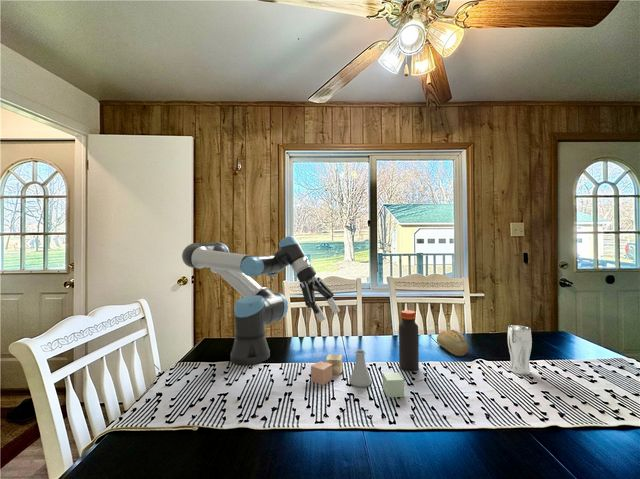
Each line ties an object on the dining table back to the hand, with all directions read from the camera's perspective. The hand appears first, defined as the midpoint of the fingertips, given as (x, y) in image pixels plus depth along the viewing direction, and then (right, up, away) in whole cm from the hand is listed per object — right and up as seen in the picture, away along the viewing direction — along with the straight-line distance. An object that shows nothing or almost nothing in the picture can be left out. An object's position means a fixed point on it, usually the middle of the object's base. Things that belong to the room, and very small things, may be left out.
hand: (330, 316), depth 117 cm
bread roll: (+50, -16, +6) cm, 53 cm away
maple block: (+1, -16, -12) cm, 20 cm away
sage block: (+18, -16, -27) cm, 36 cm away
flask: (+9, -16, -20) cm, 27 cm away
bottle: (+28, -16, -9) cm, 33 cm away
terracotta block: (-4, -16, -18) cm, 25 cm away
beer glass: (+65, -16, -14) cm, 68 cm away
